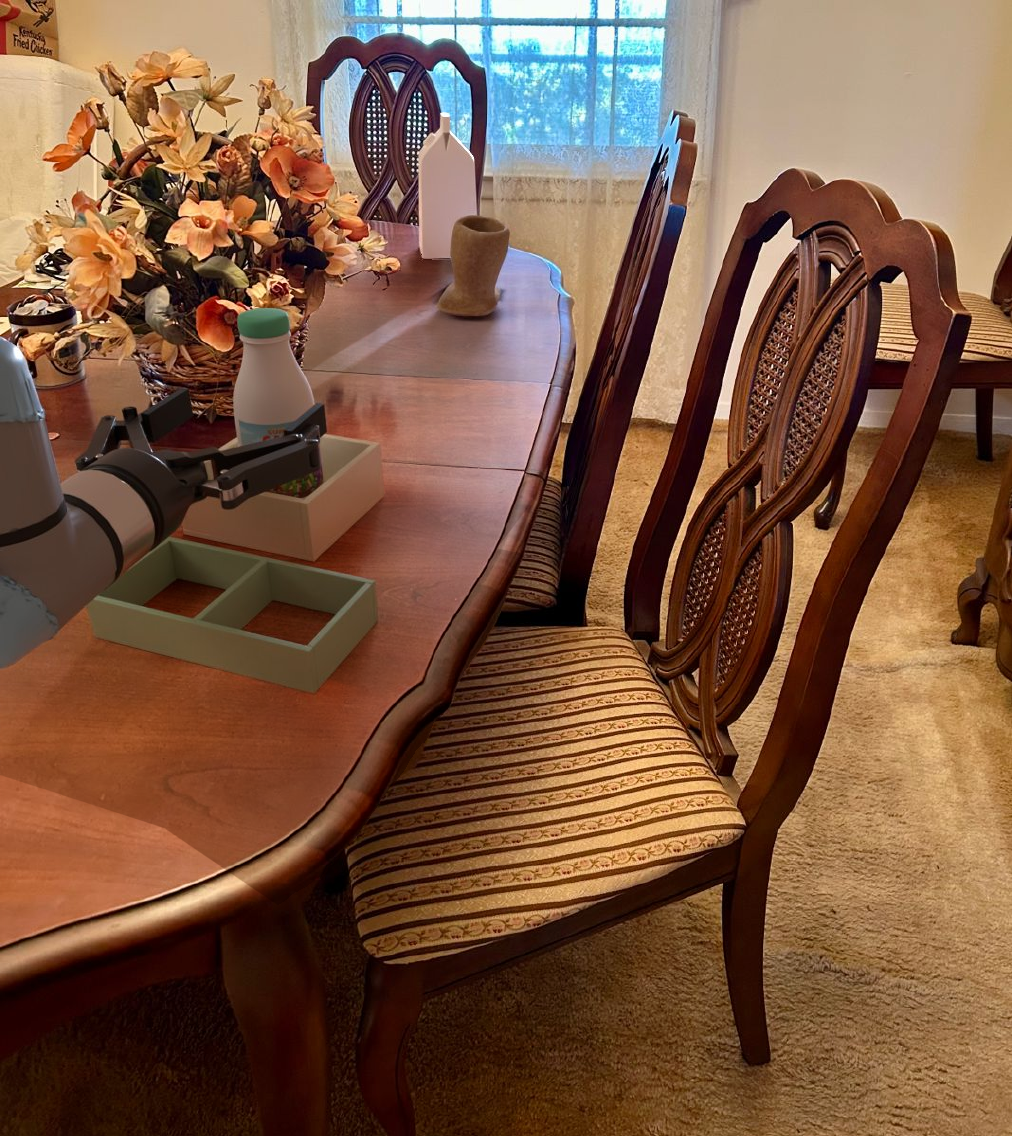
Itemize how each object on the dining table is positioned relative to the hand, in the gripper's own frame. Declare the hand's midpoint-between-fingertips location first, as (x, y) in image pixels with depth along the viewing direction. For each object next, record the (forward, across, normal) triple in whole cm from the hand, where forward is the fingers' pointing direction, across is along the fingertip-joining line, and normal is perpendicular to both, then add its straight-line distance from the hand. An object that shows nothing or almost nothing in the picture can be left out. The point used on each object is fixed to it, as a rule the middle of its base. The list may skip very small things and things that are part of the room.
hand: (253, 409), depth 86 cm
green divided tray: (-16, +5, -13) cm, 21 cm away
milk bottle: (+3, 0, -12) cm, 13 cm away
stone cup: (+80, -3, -13) cm, 81 cm away
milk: (+119, -20, -13) cm, 121 cm away
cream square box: (+3, 0, -13) cm, 13 cm away
